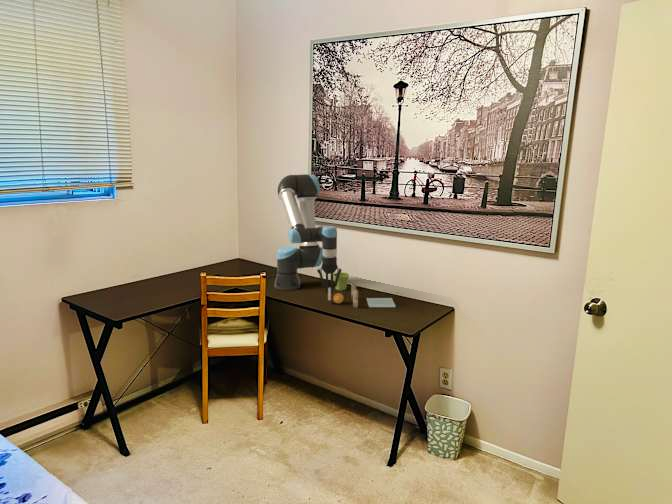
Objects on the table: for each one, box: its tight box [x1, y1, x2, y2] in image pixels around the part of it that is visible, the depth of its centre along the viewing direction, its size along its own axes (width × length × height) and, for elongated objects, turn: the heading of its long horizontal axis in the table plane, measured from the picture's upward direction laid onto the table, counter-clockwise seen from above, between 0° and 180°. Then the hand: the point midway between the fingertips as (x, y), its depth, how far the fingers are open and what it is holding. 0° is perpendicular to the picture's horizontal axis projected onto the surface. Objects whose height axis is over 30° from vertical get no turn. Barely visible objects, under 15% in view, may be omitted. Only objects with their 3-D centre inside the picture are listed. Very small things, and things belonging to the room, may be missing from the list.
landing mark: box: [365, 297, 396, 308], centre depth 264 cm, size 14×14×1 cm
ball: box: [332, 292, 344, 304], centre depth 262 cm, size 6×6×6 cm
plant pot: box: [333, 271, 350, 291], centre depth 286 cm, size 9×9×9 cm
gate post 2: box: [352, 289, 359, 309], centre depth 256 cm, size 3×3×9 cm
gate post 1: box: [350, 282, 357, 301], centre depth 269 cm, size 3×3×9 cm
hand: (329, 299), depth 262 cm, fingers closed
